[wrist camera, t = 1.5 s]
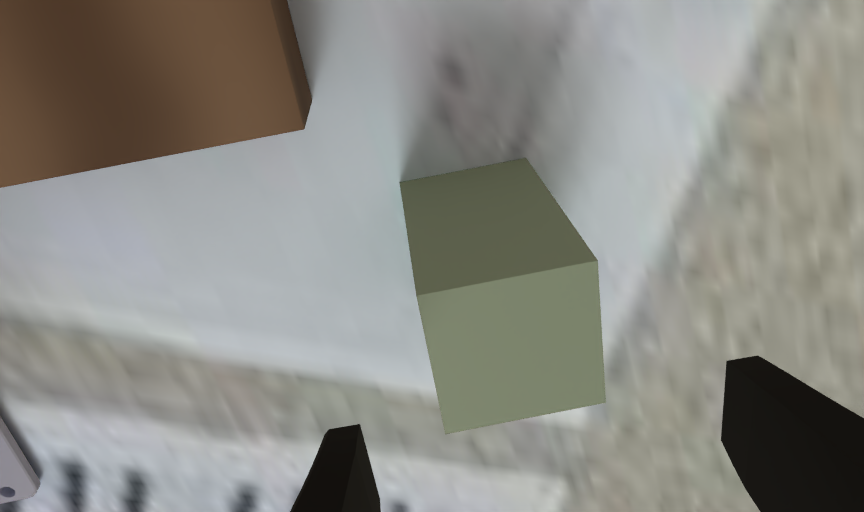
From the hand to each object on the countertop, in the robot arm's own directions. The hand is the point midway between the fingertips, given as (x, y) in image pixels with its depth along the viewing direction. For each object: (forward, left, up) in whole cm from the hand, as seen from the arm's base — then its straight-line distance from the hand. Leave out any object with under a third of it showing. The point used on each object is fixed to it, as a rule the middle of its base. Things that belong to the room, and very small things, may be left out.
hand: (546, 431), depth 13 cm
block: (0, 0, -10) cm, 10 cm away
